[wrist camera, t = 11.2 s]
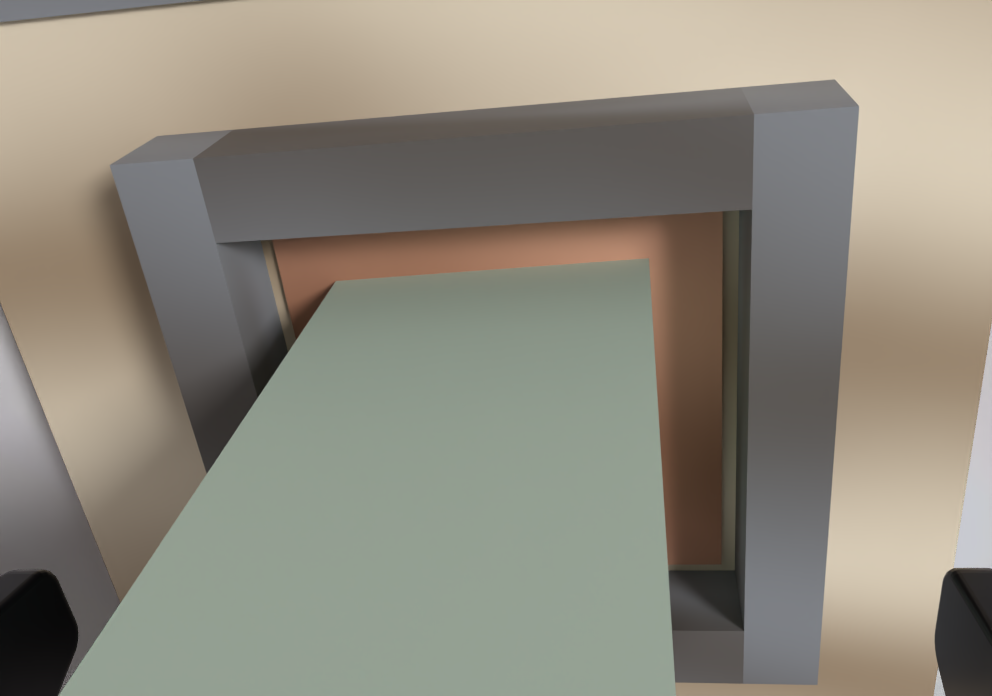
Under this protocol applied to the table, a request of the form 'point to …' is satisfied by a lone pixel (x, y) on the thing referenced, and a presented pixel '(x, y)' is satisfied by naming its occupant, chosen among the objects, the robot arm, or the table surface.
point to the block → (425, 506)
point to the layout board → (540, 261)
